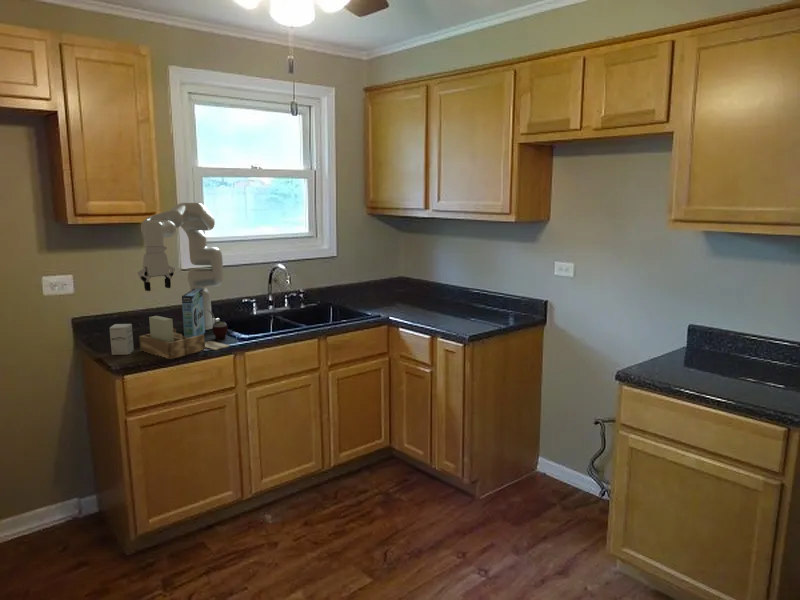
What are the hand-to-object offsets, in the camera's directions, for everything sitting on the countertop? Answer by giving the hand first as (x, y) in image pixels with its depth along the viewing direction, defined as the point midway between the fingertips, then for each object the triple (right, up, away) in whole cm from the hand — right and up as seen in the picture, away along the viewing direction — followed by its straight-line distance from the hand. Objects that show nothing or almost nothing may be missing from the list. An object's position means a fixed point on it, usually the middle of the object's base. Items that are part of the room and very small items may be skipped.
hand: (158, 289), depth 258 cm
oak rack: (+3, -28, +10) cm, 29 cm away
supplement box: (-18, -29, +6) cm, 34 cm away
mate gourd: (+18, -24, +30) cm, 42 cm away
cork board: (+19, -26, +17) cm, 36 cm away
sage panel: (0, -28, +6) cm, 29 cm away
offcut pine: (+2, -23, +14) cm, 27 cm away
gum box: (+5, -23, +32) cm, 40 cm away
